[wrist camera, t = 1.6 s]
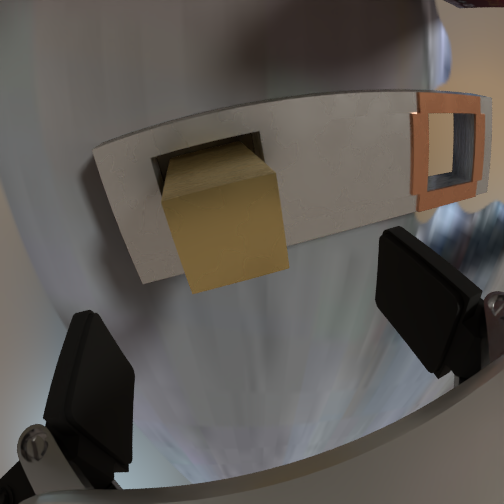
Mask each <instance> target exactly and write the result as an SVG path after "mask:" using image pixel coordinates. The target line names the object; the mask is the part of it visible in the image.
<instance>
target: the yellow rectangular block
mask: <svg viewBox="0 0 504 504" xmlns="http://www.w3.org/2000/svg"><path fill="white" fill-rule="evenodd" d="M161 204H162V207H163V210H164V213H165V216H166V219H167V222H168V226H169V229H170V232H171V235H172V238H173V241H174V243H175V246H176V249H177V252H178V255H179V258H180V261H181V264H182V266H183V269H184V272H185V275H186V278H187V280H188V283H189V286H190V288H191V291H192V294H195V293H199V292H203V291H207V290H211V289H214V288H218V287H222V286H226V285H230V284H233V283H237V282H241V281H245V280H248V279H252V278H256V277H259V276H263V275H267V274H270V273H274V272H278V271H281V270H285V269H288V268H289V261H288V253H287V246H286V238H285V231H284V224H283V217H282V210H281V203H280V196H279V189H278V183H277V176H276V172H274V171H273V170H272V169H271V168H270V167H269V166H268V165H267V164H266V163H264V162H263V161H262V160H261V159H260V158H259V157H258V156H257V155H255V154H254V153H253V152H252V151H251V150H250V149H248V148H247V147H246V146H245V145H244V144H243V143H241V142H240V141H237V142H232V143H228V144H224V145H219V146H215V147H211V148H207V149H203V150H199V151H195V152H191V153H187V154H184V155H180V156H176V157H173V158H170V162H169V166H168V170H167V175H166V179H165V184H164V189H163V194H162V199H161Z"/></svg>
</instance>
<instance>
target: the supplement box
mask: <svg viewBox="0 0 504 504" xmlns="http://www.w3.org/2000/svg"><path fill="white" fill-rule="evenodd" d="M444 1H446V2H448V3H450V4H453V5H455V6H456V7H458V8H477V7H504V0H444Z"/></svg>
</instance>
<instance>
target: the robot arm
mask: <svg viewBox="0 0 504 504" xmlns="http://www.w3.org/2000/svg"><path fill="white" fill-rule="evenodd" d="M481 294H482V290H481V289H480V288H479V287H477V286H476V285H475V284H474V283H473V282H472V281H470V280H469V279H468V278H467V277H466V276H464V275H463V274H462V273H461V272H460V271H458V270H457V269H456V268H455V267H453V266H452V265H451V264H450V263H449V262H447V261H446V260H445V259H443V258H442V257H441V256H440V255H438V254H437V253H436V252H435V251H433V250H432V249H431V248H429V247H428V246H427V245H425V244H424V243H423V242H421V241H420V240H419V239H417V238H416V237H415V236H413V235H412V234H411V233H409V232H408V231H406V230H405V229H404V228H402V227H400V226H397V227H393V228H390V229H387V230H384V231H383V234H382V236H380V238H379V254H378V271H377V284H376V296H375V301H376V305H377V307H378V308H379V310H380V311H381V312H382V313H383V314H384V316H385V317H386V318H387V319H388V321H389V322H390V323H391V324H392V326H393V327H394V328H395V329H396V331H397V332H398V333H399V334H400V336H401V337H402V338H403V339H404V341H405V342H406V343H407V344H408V346H409V347H410V348H411V350H412V351H413V352H414V353H415V355H416V356H417V357H418V359H419V360H420V361H421V363H422V364H423V365H424V366H425V368H426V369H427V370H428V371H429V372H430V373H434V374H435V376H436V377H437V378H438V379H439V378H441V377H442V376H444V375H446V374H447V373H449V372H450V371H452V372H453V373H454V374H455V375H454V388H453V389H452V390H450V391H449V392H447V393H446V394H444V395H442V396H441V397H439V398H437V399H436V400H434V401H432V402H431V403H429V404H427V405H426V406H424V407H422V408H420V409H418V410H417V411H415V412H413V413H411V414H409V415H407V416H405V417H404V418H402V419H400V420H398V421H396V422H394V423H392V424H390V425H388V426H386V427H383V428H381V429H379V430H377V431H375V432H373V433H370V434H368V435H366V436H364V437H361V438H359V439H357V440H354V441H352V442H350V443H347V444H345V445H342V446H339V447H337V448H334V449H332V450H329V451H326V452H323V453H321V454H318V455H315V456H312V457H309V458H306V459H303V460H300V461H296V462H293V463H290V464H286V465H283V466H279V467H276V468H272V469H268V470H264V471H260V472H256V473H252V474H247V475H243V476H238V477H233V478H228V479H223V480H217V481H211V482H205V483H198V484H190V485H182V486H173V487H161V488H145V489H122V488H121V487H120V485H118V483H117V482H116V481H115V480H114V472H129V464H130V463H131V462H132V430H133V400H134V382H135V374H134V370H133V368H132V366H131V364H130V363H129V361H128V360H127V359H126V357H125V356H124V354H123V353H122V351H121V350H120V348H119V346H118V345H117V343H116V342H115V340H114V339H113V337H112V335H111V334H110V332H109V331H108V329H107V327H106V326H105V324H104V322H103V321H102V319H101V317H100V316H99V314H97V313H94V312H93V311H91V310H87V311H83V312H79V313H75V314H74V316H73V318H72V321H71V323H70V326H69V329H68V332H67V335H66V338H65V341H64V344H63V347H62V350H61V353H60V356H59V359H58V362H57V366H56V369H55V373H54V376H53V380H52V383H51V387H50V391H49V395H48V399H47V403H46V407H45V411H44V415H43V419H45V420H46V426H43V425H40V424H35V425H31V426H30V427H28V428H26V430H25V431H24V432H23V433H22V434H21V436H20V438H19V441H18V444H17V453H18V457H19V461H18V462H17V463H16V464H15V465H14V466H13V467H12V468H11V469H10V470H9V471H8V472H7V473H6V474H5V475H4V476H3V477H2V478H1V479H0V504H504V292H501V291H495V292H491V293H489V294H488V295H487V296H486V297H485V299H484V300H483V299H481V298H480V297H481Z"/></svg>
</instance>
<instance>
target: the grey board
mask: <svg viewBox="0 0 504 504" xmlns="http://www.w3.org/2000/svg"><path fill="white" fill-rule="evenodd" d="M428 113H453V114H454V145H453V168H452V169H453V170H452V172H449V173H444V174H439V175H434V176H428V159H429V127H428V126H429V122H428ZM247 133H251V134H252V140H253V145H254V151H255V155H257V156H258V157H259V158H260V159H261V160H262V161H263V162H264V163H266V164H267V165H268V166H269V167H270V168H271V169H272V170H273V171H274V172H276V176H277V183H278V189H279V196H280V203H281V210H282V217H283V224H284V231H285V238H286V246H289V245H293V244H297V243H301V242H304V241H308V240H312V239H316V238H319V237H323V236H327V235H331V234H334V233H338V232H342V231H345V230H349V229H353V228H357V227H360V226H364V225H368V224H371V223H375V222H379V221H383V220H386V219H390V218H394V217H397V216H401V215H405V214H408V213H412V212H416V211H418V212H421V211H425V210H429V209H432V208H436V207H439V206H443V205H447V204H450V203H454V202H458V201H461V200H465V199H468V198H472V197H475V196H476V195H478V194H482V193H485V192H487V187H488V178H489V169H490V157H491V140H492V98H490V97H486V96H481V95H476V94H471V93H461V92H450V91H435V90H408V89H381V90H353V91H338V92H325V93H315V94H305V95H297V96H289V97H282V98H275V99H268V100H262V101H256V102H250V103H245V104H240V105H234V106H229V107H225V108H220V109H215V110H211V111H206V112H202V113H198V114H194V115H190V116H186V117H182V118H178V119H175V120H171V121H167V122H164V123H160V124H157V125H154V126H150V127H147V128H144V129H141V130H138V131H134V132H131V133H128V134H125V135H122V136H120V137H117V138H114V139H111V140H108V141H106V142H103V143H101V144H100V145H98V146H97V147H95V148H94V149H92V152H93V155H94V158H95V161H96V164H97V168H98V171H99V174H100V177H101V180H102V183H103V186H104V189H105V191H106V194H107V197H108V200H109V203H110V205H111V208H112V211H113V213H114V216H115V219H116V221H117V224H118V226H119V229H120V232H121V234H122V237H123V239H124V242H125V244H126V246H127V249H128V251H129V254H130V256H131V258H132V261H133V263H134V265H135V268H136V270H137V272H138V274H139V277H140V279H141V281H142V283H143V284H146V283H150V282H154V281H157V280H161V279H165V278H169V277H173V276H176V275H180V274H184V273H185V272H184V269H183V266H182V264H181V261H180V258H179V255H178V252H177V249H176V246H175V243H174V241H173V238H172V235H171V232H170V229H169V226H168V222H167V219H166V216H165V213H164V210H163V207H162V204H161V199H162V194H163V189H164V182H163V178H162V175H161V171H160V168H159V164H158V161H157V157H156V156H159V155H162V154H165V153H169V152H173V151H176V150H180V149H183V148H187V147H191V146H195V145H199V144H203V143H207V142H211V141H215V140H219V139H224V138H228V137H233V136H237V135H242V134H247Z"/></svg>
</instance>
